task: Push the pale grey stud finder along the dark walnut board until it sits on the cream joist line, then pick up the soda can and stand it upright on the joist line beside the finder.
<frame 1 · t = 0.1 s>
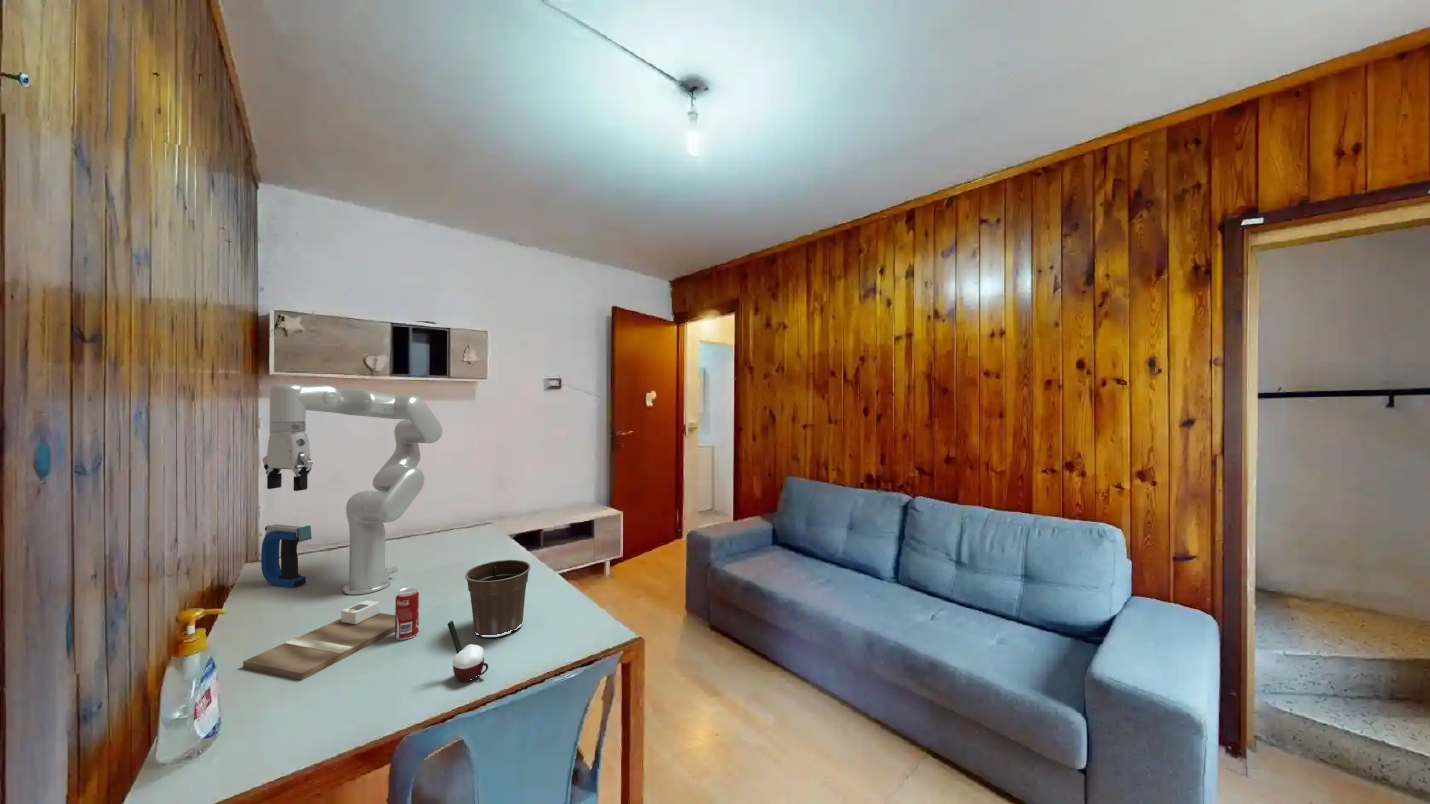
hand: (287, 489, 134), 37 cm above the table, tool pointing down, fingers open, 9 cm apart
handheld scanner: (286, 584, 159), on the table
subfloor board: (335, 643, 121), on the table
cocoa: (468, 677, 108), on the table
soda can: (406, 636, 126), on the table
stud finder: (360, 611, 132), point 3 cm above the table, slide at 0.0 cm
plant pot: (498, 629, 130), on the table
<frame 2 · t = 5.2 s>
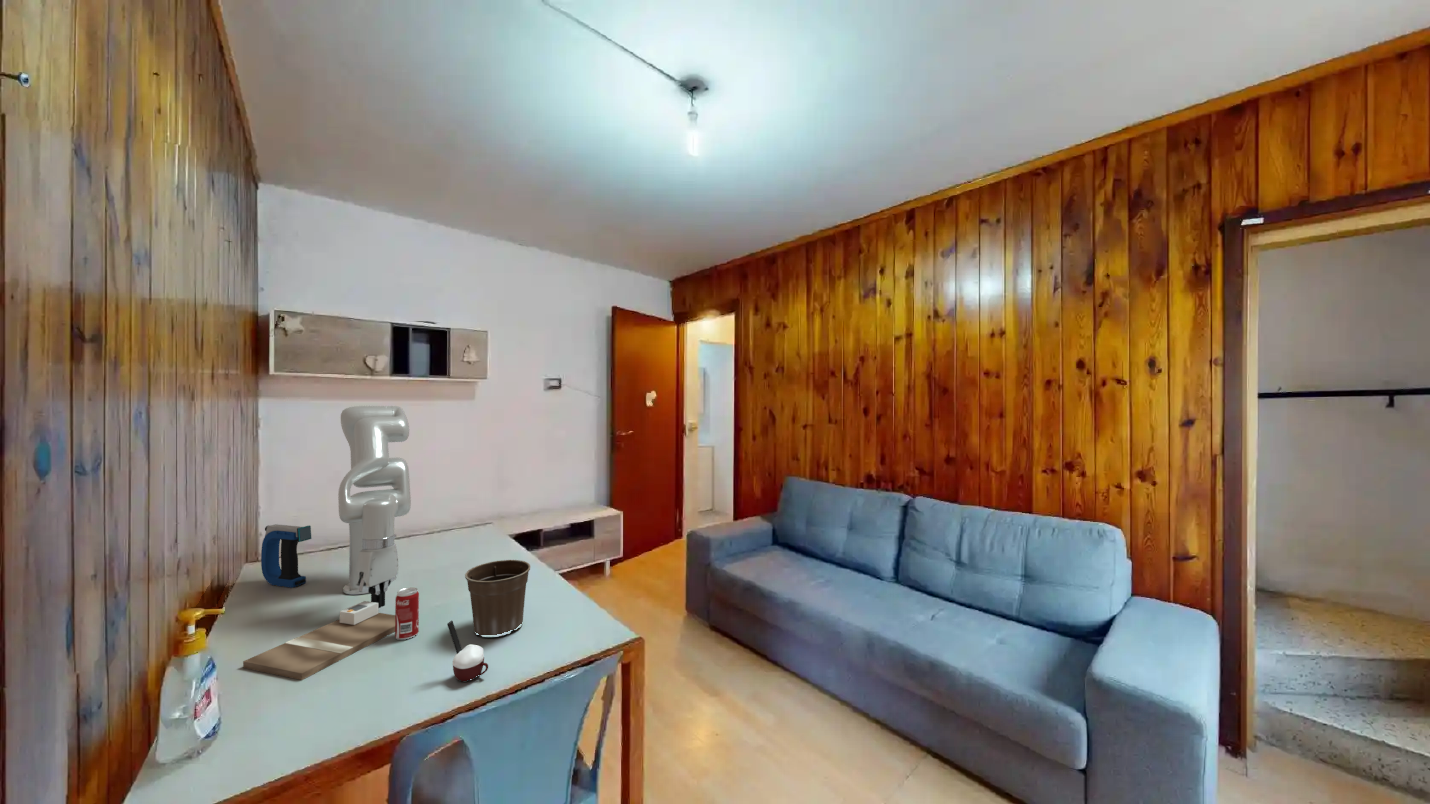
hand: (378, 606, 137), 3 cm above the table, tool pointing down, fingers closed
stud finder: (359, 612, 132), point 3 cm above the table, slide at 0.4 cm, touching gripper
everything else where it was.
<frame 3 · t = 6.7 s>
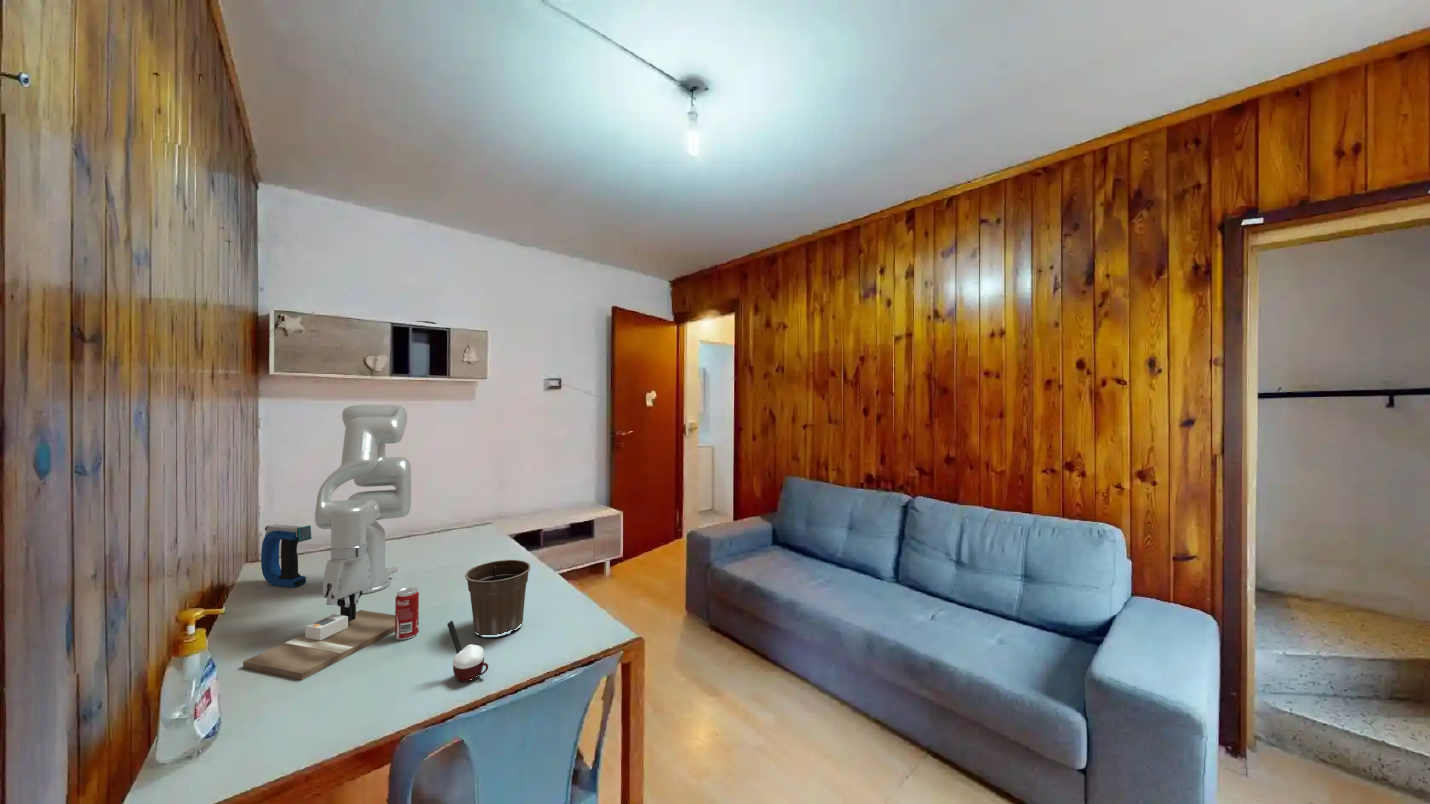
hand: (348, 619, 128), 3 cm above the table, tool pointing down, fingers closed
stud finder: (327, 626, 123), point 3 cm above the table, slide at 9.0 cm, touching gripper
everything else where it was.
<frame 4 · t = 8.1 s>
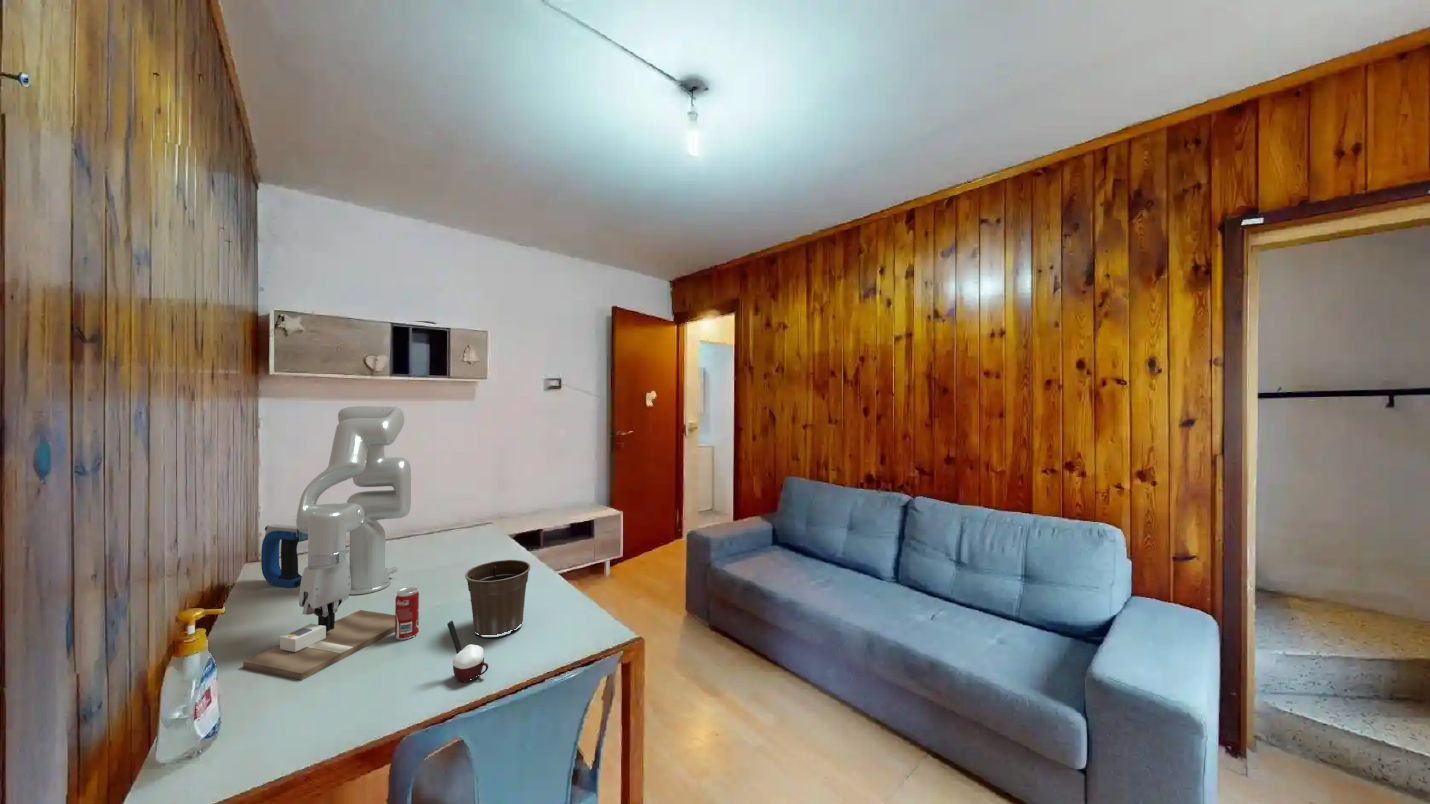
hand: (326, 629, 123), 3 cm above the table, tool pointing down, fingers closed
stud finder: (303, 637, 118), point 3 cm above the table, slide at 14.7 cm, touching gripper
everything else where it was.
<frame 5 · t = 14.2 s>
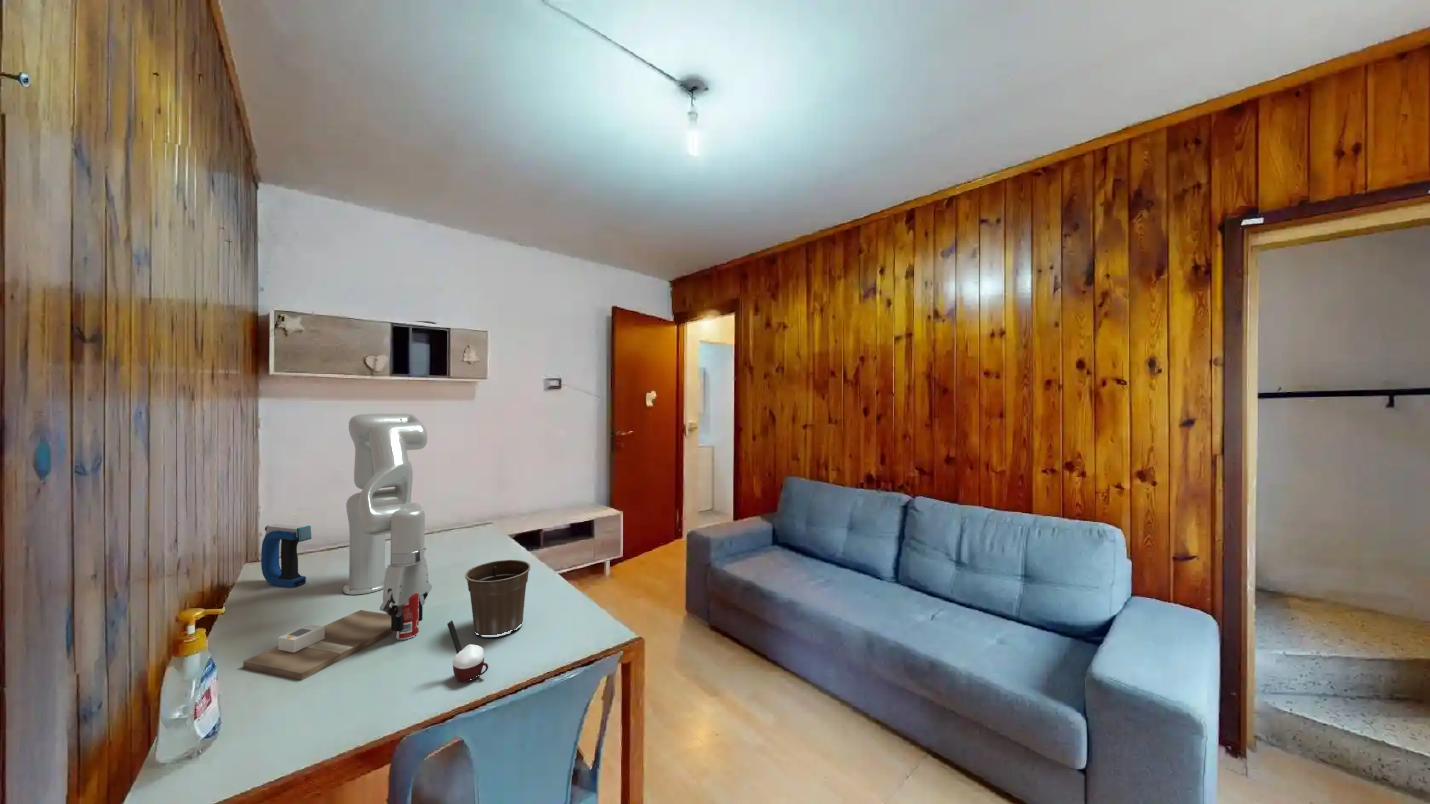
hand: (407, 624, 126), 3 cm above the table, tool pointing down, fingers closed on soda can, 5 cm apart
soda can: (407, 636, 126), on the table, touching gripper
stud finder: (302, 637, 118), point 3 cm above the table, slide at 15.0 cm
everything else where it was.
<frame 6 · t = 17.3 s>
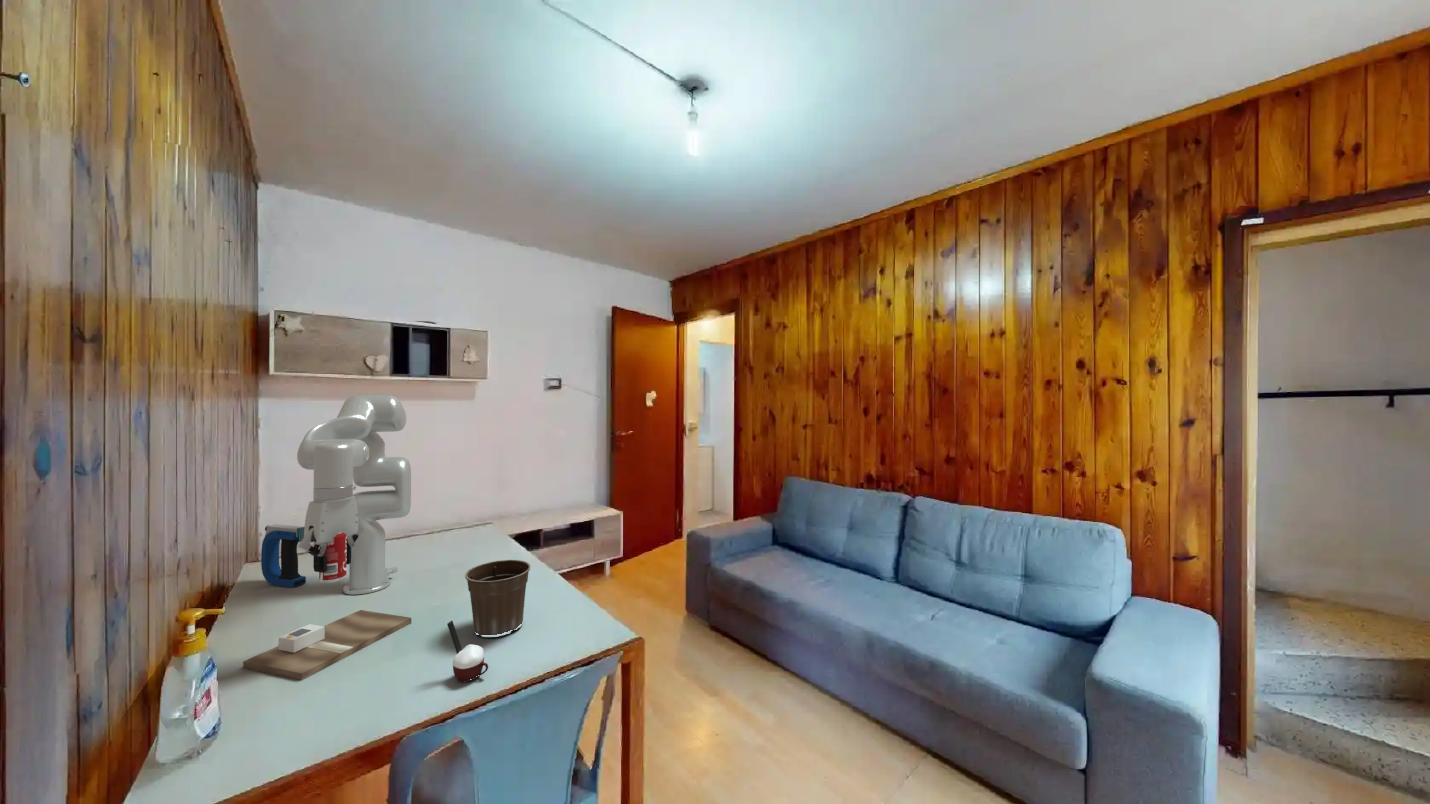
hand: (332, 566, 117), 21 cm above the table, tool pointing down, fingers closed on soda can, 5 cm apart
soda can: (333, 579, 117), point 18 cm above the table, touching gripper
everything else where it was.
when the fingers open (5 cm above the table, at t = 20.8 s): soda can stays where it is, resting on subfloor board.
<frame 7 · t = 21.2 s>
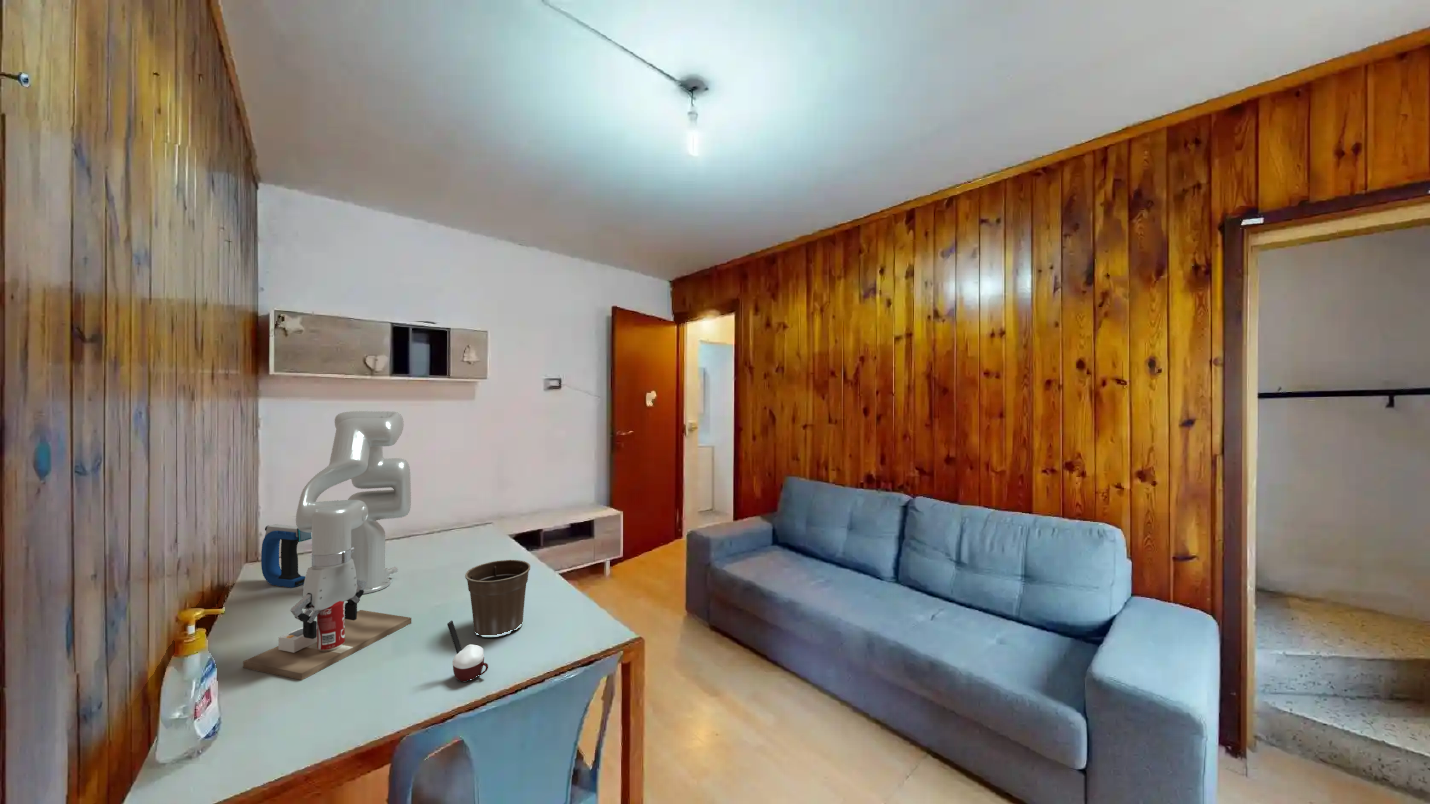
hand: (331, 628, 116), 6 cm above the table, tool pointing down, fingers open, 9 cm apart
soda can: (331, 647, 117), point 1 cm above the table, touching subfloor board
everything else where it was.
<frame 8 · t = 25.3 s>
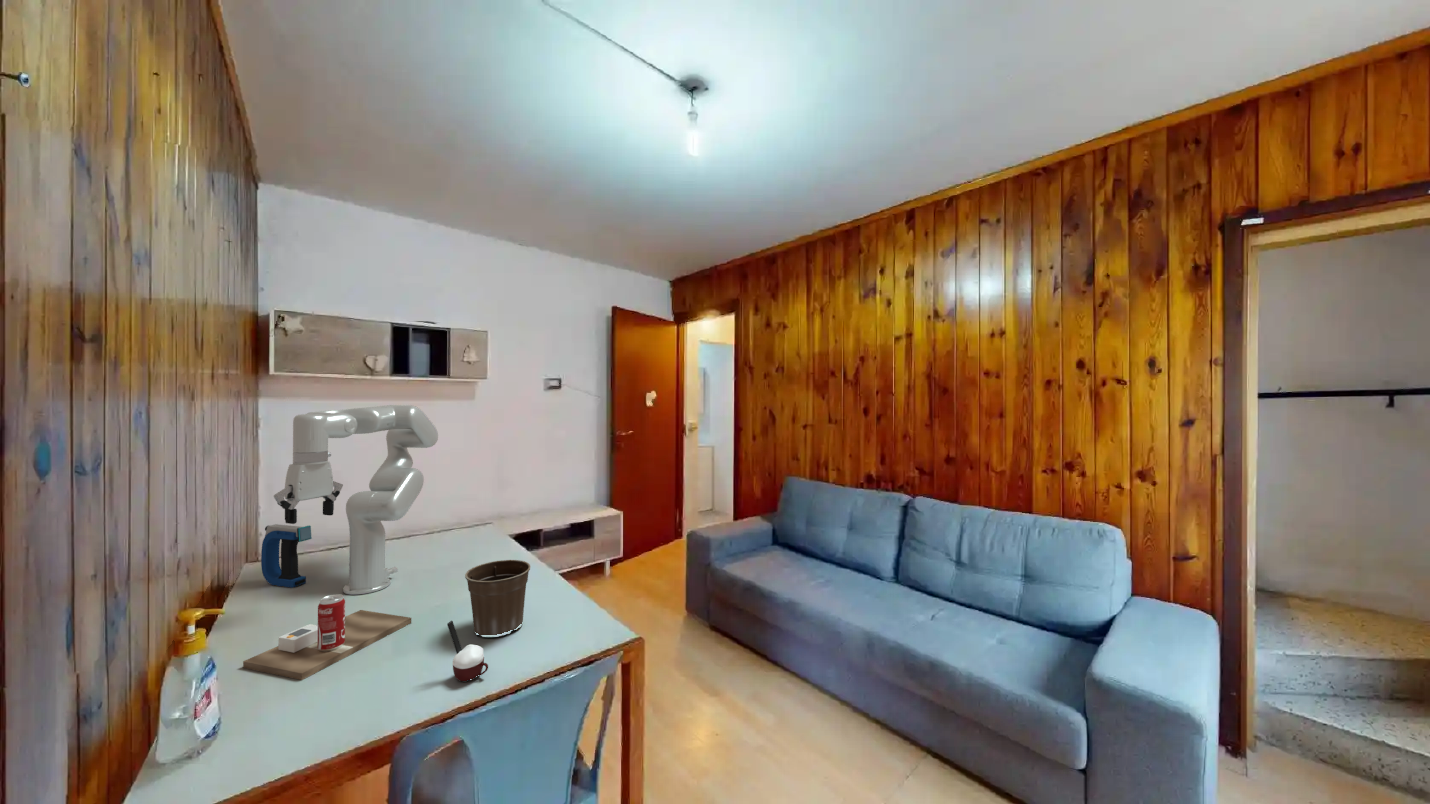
hand: (310, 519, 134), 28 cm above the table, tool pointing down, fingers open, 9 cm apart
nothing on the table moved.
at the end: stud finder slide at 15.0 cm; soda can 0.2 cm from the target spot on the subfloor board, point 1.4 cm above the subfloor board's base; soda can tilted 0° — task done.
